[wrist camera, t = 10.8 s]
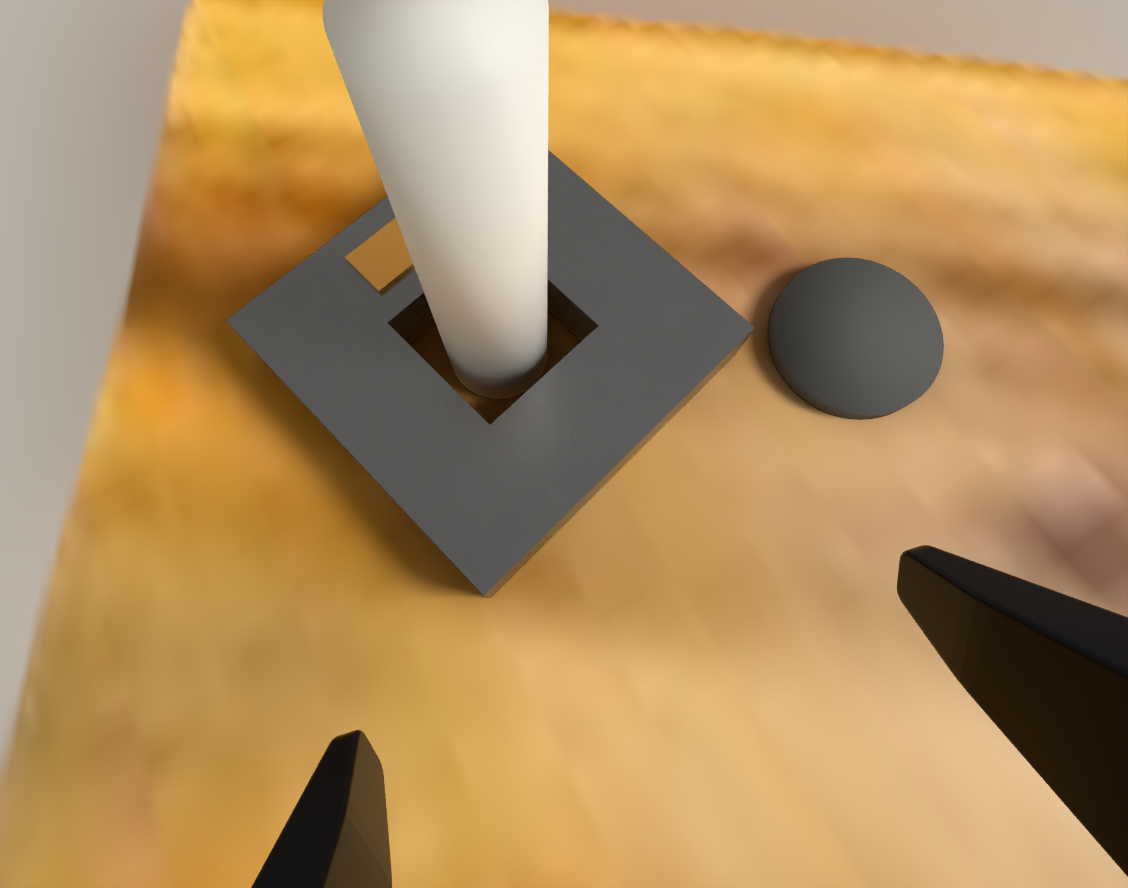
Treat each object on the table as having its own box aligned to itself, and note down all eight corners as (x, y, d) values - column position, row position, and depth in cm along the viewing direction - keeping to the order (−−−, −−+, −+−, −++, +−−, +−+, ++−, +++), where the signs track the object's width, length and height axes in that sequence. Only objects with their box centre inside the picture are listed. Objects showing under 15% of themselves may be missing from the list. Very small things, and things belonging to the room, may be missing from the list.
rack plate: (490, 597, 23) (483, 595, 20) (256, 348, 25) (223, 318, 22) (735, 354, 26) (756, 325, 23) (504, 152, 28) (500, 105, 25)
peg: (527, 412, 25) (500, 126, 10) (435, 379, 25) (283, 56, 11) (560, 327, 26) (579, -40, 11) (472, 297, 26) (380, -99, 12)
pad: (865, 453, 25) (875, 448, 24) (733, 339, 26) (739, 330, 25) (964, 342, 26) (976, 334, 25) (835, 239, 27) (844, 228, 27)
